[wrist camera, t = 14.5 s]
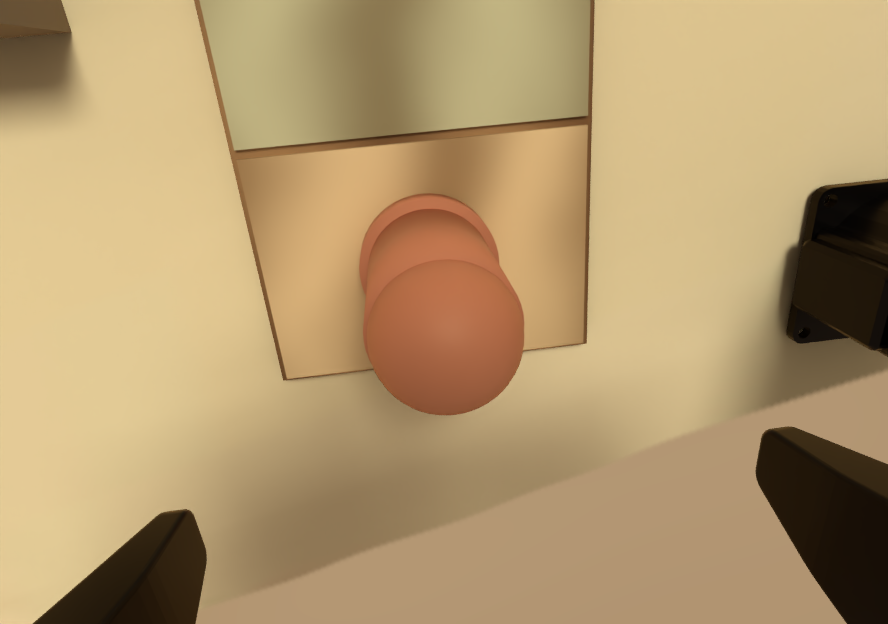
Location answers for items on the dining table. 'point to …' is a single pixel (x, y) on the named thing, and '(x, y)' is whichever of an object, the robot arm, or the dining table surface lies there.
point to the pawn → (438, 306)
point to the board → (405, 148)
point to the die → (32, 18)
